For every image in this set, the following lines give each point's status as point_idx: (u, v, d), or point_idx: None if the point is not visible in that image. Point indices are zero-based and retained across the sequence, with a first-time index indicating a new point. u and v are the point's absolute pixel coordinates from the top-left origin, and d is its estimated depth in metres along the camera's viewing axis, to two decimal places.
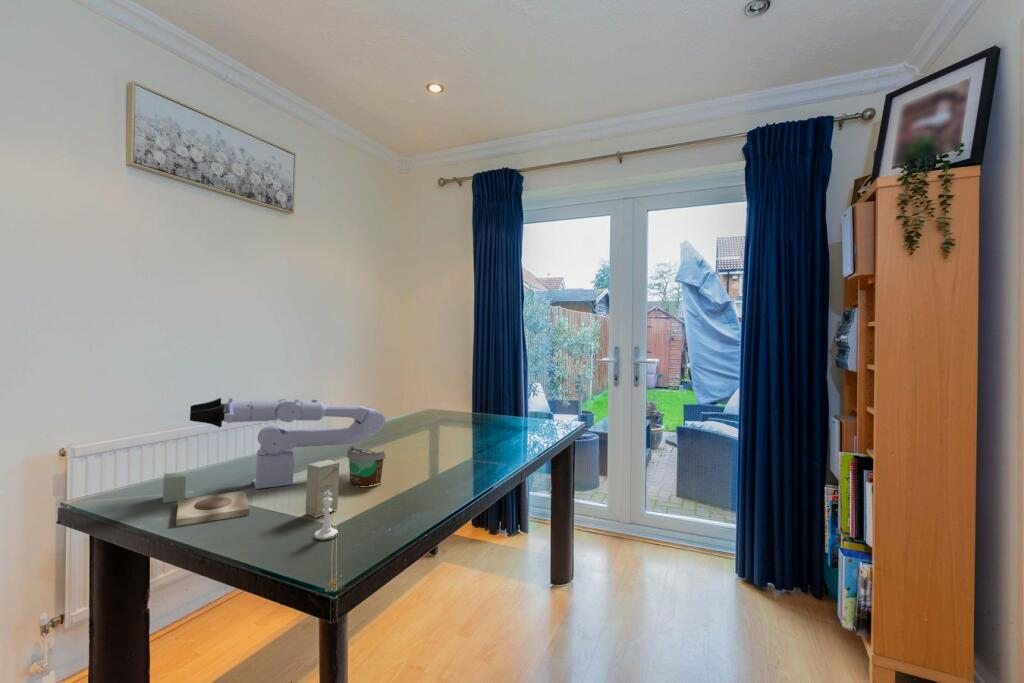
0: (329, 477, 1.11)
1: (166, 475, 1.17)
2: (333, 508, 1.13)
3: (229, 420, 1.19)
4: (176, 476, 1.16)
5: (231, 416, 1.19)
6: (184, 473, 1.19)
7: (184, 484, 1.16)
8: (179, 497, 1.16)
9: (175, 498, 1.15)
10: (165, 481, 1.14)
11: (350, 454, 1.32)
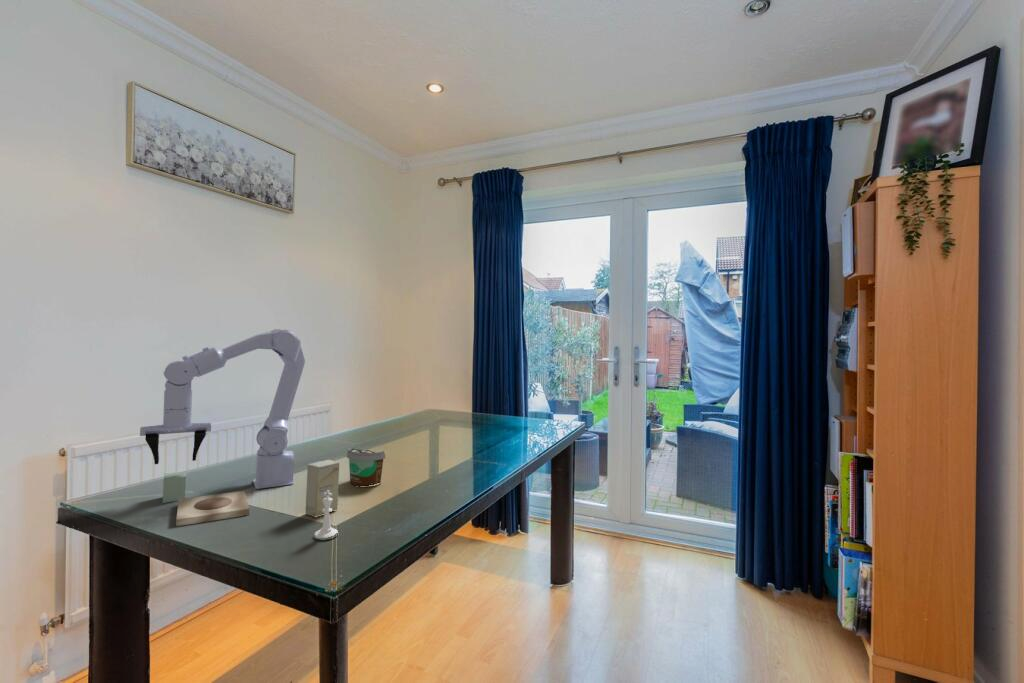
0: (329, 477, 1.11)
1: (166, 475, 1.17)
2: (333, 508, 1.13)
3: None
4: (176, 476, 1.16)
5: None
6: (184, 473, 1.19)
7: (184, 484, 1.16)
8: (179, 497, 1.16)
9: (175, 498, 1.15)
10: (165, 481, 1.14)
11: (350, 454, 1.32)
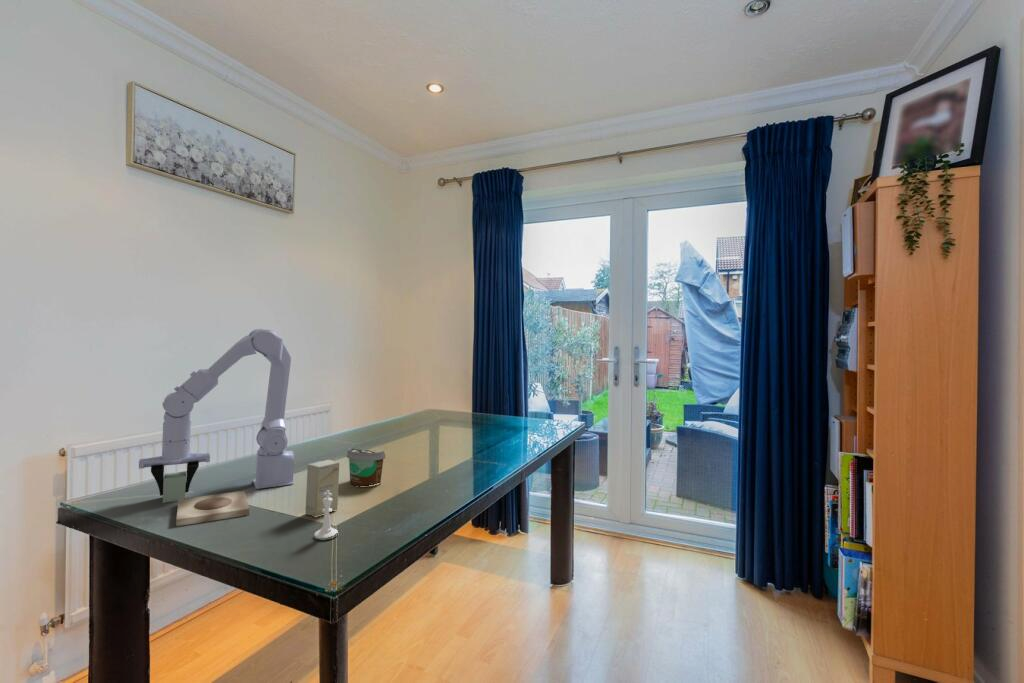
0: (329, 477, 1.11)
1: (166, 475, 1.17)
2: (333, 508, 1.13)
3: None
4: (176, 476, 1.16)
5: (209, 455, 1.21)
6: (184, 473, 1.18)
7: (184, 484, 1.16)
8: (179, 497, 1.16)
9: (175, 498, 1.15)
10: (165, 481, 1.14)
11: (350, 454, 1.32)
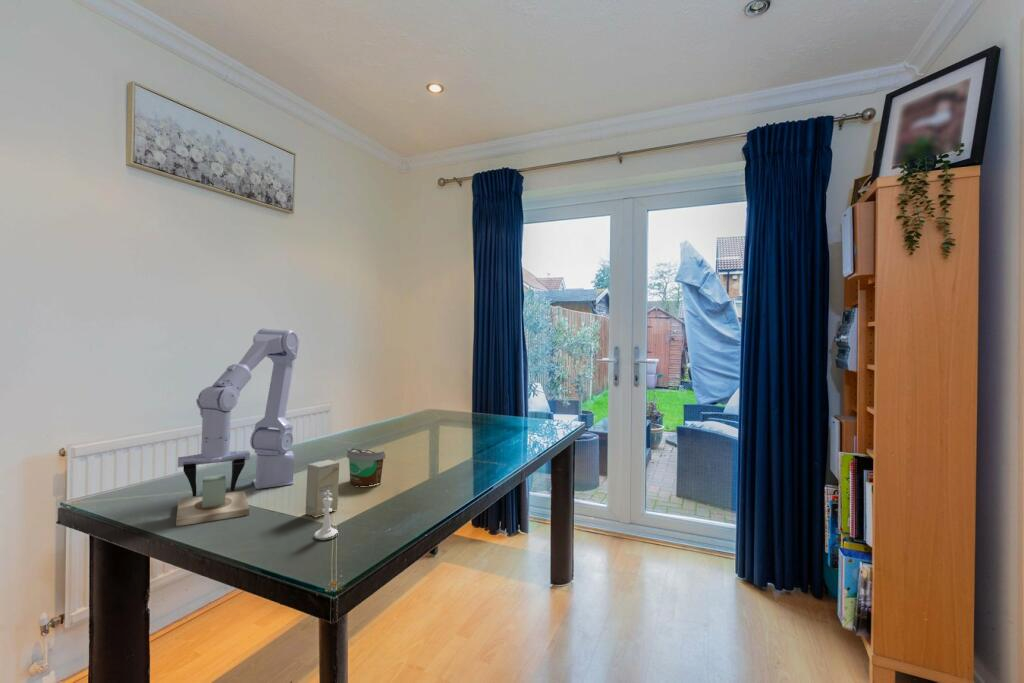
0: (329, 477, 1.11)
1: (205, 478, 1.10)
2: (333, 508, 1.13)
3: None
4: (216, 479, 1.10)
5: (249, 453, 1.14)
6: (223, 476, 1.12)
7: (224, 488, 1.10)
8: (219, 501, 1.10)
9: (215, 503, 1.09)
10: (205, 485, 1.08)
11: (350, 454, 1.32)
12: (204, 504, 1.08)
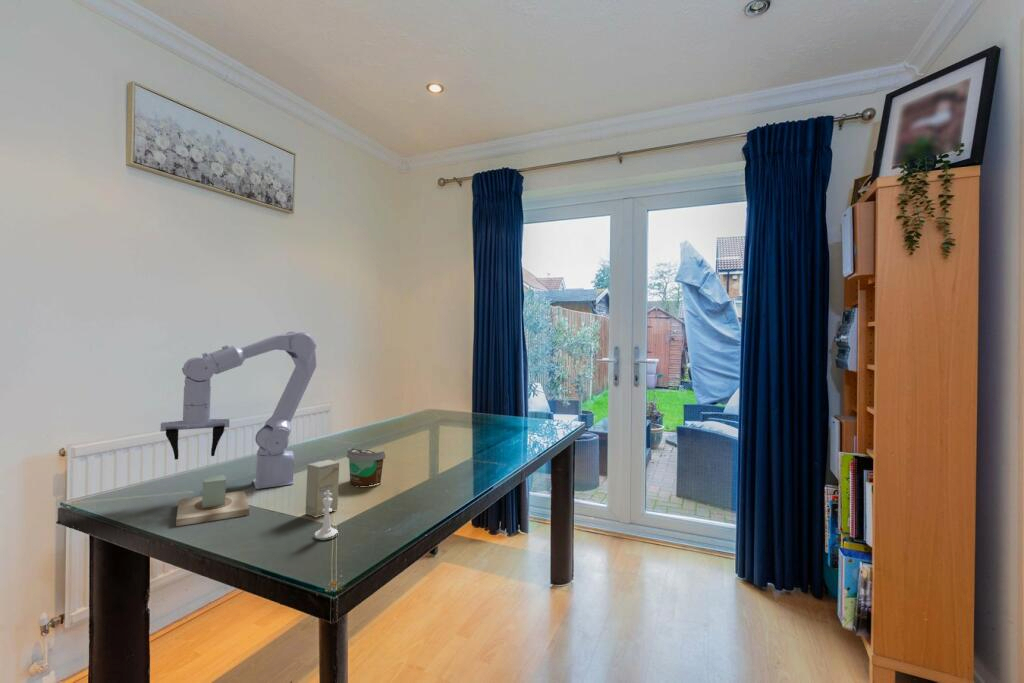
0: (329, 477, 1.11)
1: (205, 478, 1.10)
2: (333, 508, 1.13)
3: None
4: (216, 479, 1.10)
5: None
6: (223, 476, 1.12)
7: (224, 488, 1.10)
8: (219, 501, 1.10)
9: (215, 503, 1.09)
10: (205, 485, 1.08)
11: (350, 454, 1.32)
12: (204, 504, 1.08)
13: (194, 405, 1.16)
